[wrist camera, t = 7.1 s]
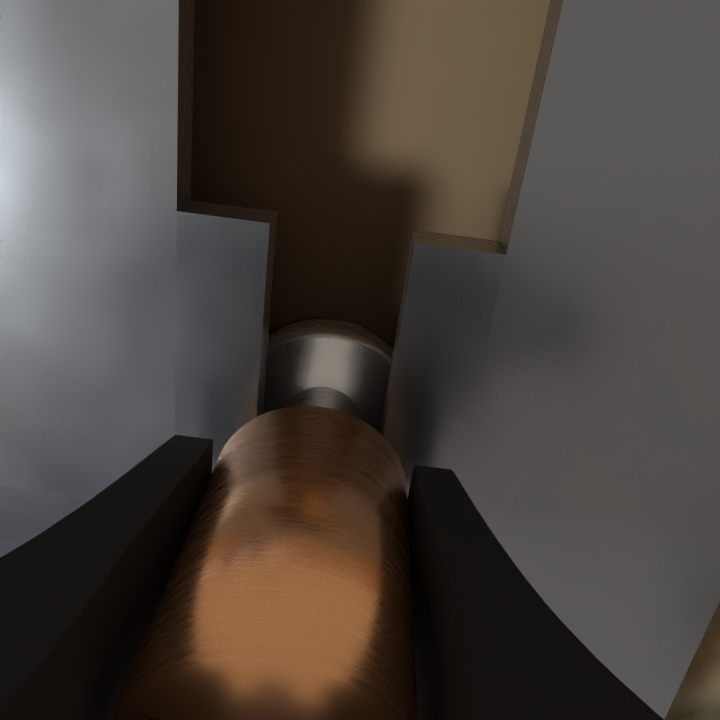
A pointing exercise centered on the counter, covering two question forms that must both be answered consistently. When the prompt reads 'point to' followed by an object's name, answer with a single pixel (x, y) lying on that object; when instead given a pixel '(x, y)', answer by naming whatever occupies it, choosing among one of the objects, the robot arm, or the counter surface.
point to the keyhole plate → (417, 311)
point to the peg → (293, 556)
